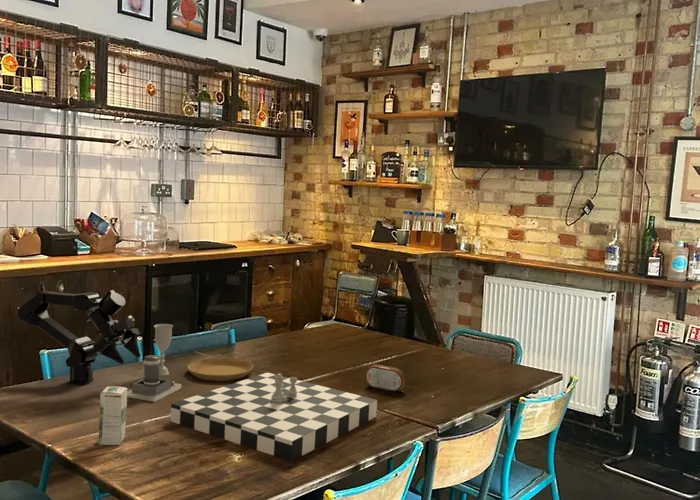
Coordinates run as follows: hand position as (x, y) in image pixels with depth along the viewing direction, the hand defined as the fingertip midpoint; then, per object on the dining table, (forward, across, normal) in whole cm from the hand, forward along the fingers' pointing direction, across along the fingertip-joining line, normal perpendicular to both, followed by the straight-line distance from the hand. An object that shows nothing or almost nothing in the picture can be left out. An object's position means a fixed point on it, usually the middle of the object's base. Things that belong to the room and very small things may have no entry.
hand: (131, 359), depth 222 cm
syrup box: (+23, -39, -8) cm, 46 cm away
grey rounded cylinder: (+12, 0, 0) cm, 12 cm away
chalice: (+6, +22, +9) cm, 24 cm away
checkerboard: (+47, -4, -32) cm, 56 cm away
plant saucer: (+20, +32, -4) cm, 38 cm away
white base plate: (+13, +2, +1) cm, 13 cm away
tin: (+62, +42, -48) cm, 89 cm away
